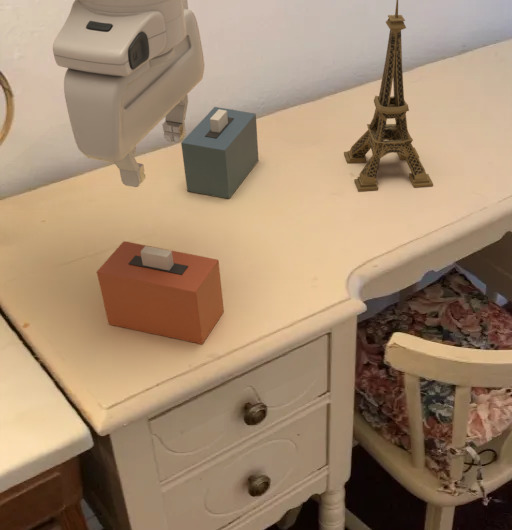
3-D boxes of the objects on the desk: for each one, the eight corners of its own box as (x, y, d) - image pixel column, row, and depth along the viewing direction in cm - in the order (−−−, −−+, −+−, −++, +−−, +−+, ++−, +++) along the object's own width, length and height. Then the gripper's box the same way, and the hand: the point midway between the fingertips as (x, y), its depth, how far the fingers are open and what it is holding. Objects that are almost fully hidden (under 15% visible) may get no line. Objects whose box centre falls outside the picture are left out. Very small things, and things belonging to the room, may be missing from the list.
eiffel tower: (414, 149, 123) (429, -33, 105) (433, 186, 115) (452, -4, 98) (343, 153, 121) (347, -32, 103) (358, 191, 113) (364, -2, 96)
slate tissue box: (229, 199, 110) (223, 137, 104) (187, 191, 111) (179, 129, 105) (258, 160, 118) (255, 100, 112) (219, 153, 119) (213, 93, 113)
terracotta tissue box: (108, 324, 91) (92, 257, 85) (133, 292, 95) (120, 226, 89) (202, 344, 89) (193, 277, 83) (224, 311, 93) (217, 245, 87)
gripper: (151, -25, 81) (170, 111, 91) (40, 54, 67) (76, 205, 76) (212, -17, 80) (224, 119, 90) (112, 65, 66) (140, 217, 75)
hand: (155, 160), depth 83 cm, fingers open, 8 cm apart
